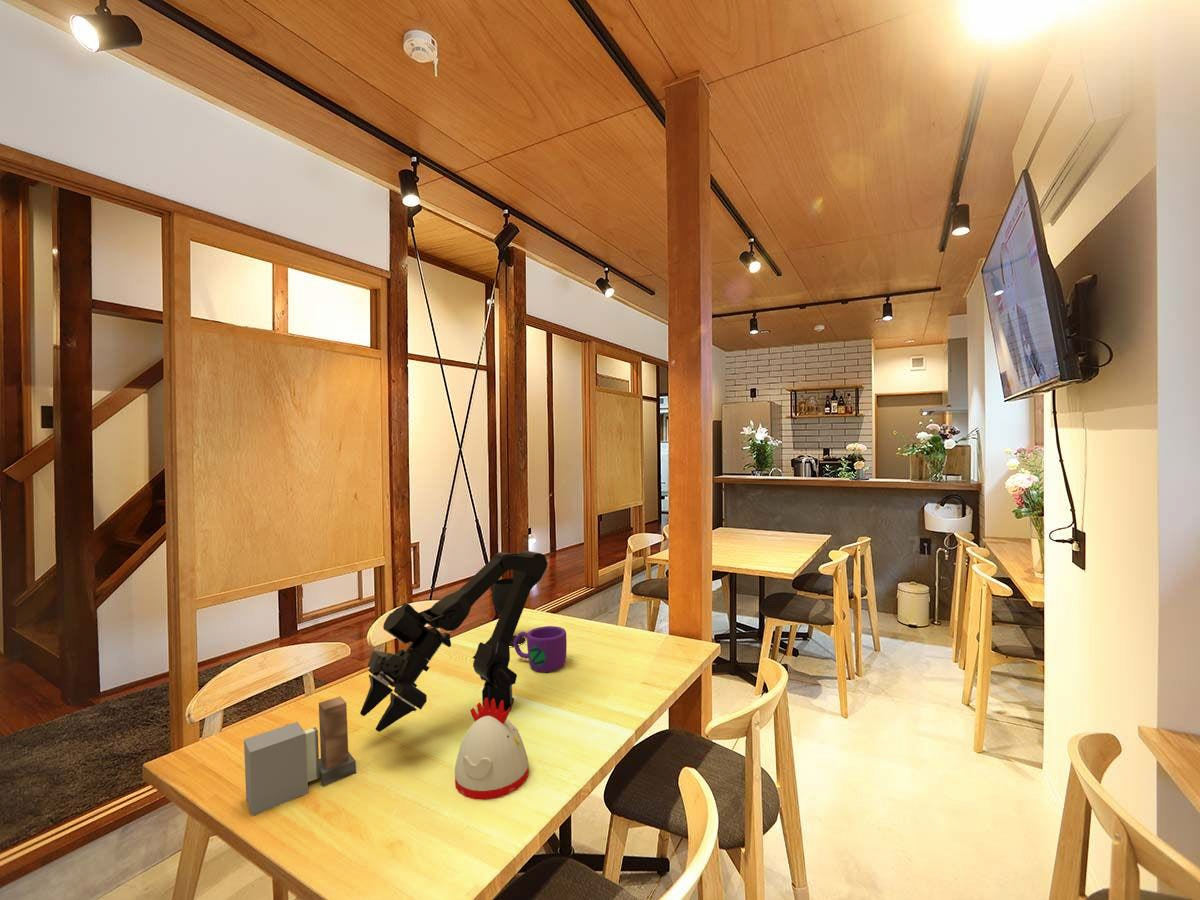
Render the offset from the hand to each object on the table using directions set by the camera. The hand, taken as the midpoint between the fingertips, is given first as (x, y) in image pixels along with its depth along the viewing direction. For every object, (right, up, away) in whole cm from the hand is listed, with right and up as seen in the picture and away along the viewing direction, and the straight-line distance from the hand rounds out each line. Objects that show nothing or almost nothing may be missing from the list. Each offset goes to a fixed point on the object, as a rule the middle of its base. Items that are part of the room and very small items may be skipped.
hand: (369, 722), depth 110 cm
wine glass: (+18, -7, +65) cm, 68 cm away
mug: (+30, -7, +45) cm, 55 cm away
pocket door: (-10, -7, -9) cm, 15 cm away
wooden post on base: (-5, -8, -5) cm, 10 cm away
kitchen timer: (+27, -7, -8) cm, 29 cm away
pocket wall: (-12, -8, -11) cm, 18 cm away
